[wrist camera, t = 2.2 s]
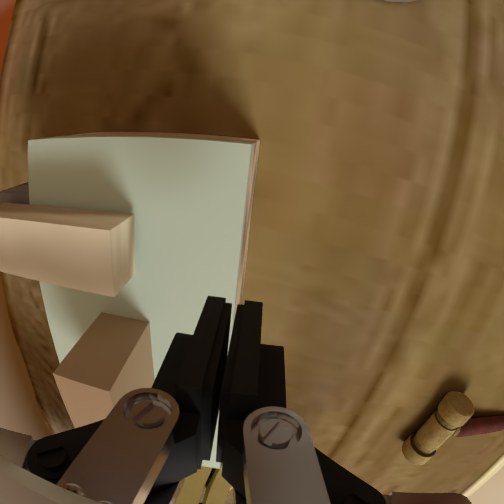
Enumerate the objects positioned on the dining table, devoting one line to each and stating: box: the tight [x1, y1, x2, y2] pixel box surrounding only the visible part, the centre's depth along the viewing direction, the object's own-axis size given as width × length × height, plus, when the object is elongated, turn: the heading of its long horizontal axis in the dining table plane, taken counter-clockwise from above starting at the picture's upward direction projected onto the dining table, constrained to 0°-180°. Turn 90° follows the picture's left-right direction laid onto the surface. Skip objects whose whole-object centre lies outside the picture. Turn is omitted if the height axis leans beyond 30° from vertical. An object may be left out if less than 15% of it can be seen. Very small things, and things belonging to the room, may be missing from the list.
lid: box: [28, 136, 253, 469], centre depth 15 cm, size 24×12×7 cm, turn 174°
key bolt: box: [0, 203, 136, 297], centre depth 13 cm, size 3×9×2 cm, turn 84°
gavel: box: [402, 391, 504, 465], centre depth 30 cm, size 21×5×10 cm
